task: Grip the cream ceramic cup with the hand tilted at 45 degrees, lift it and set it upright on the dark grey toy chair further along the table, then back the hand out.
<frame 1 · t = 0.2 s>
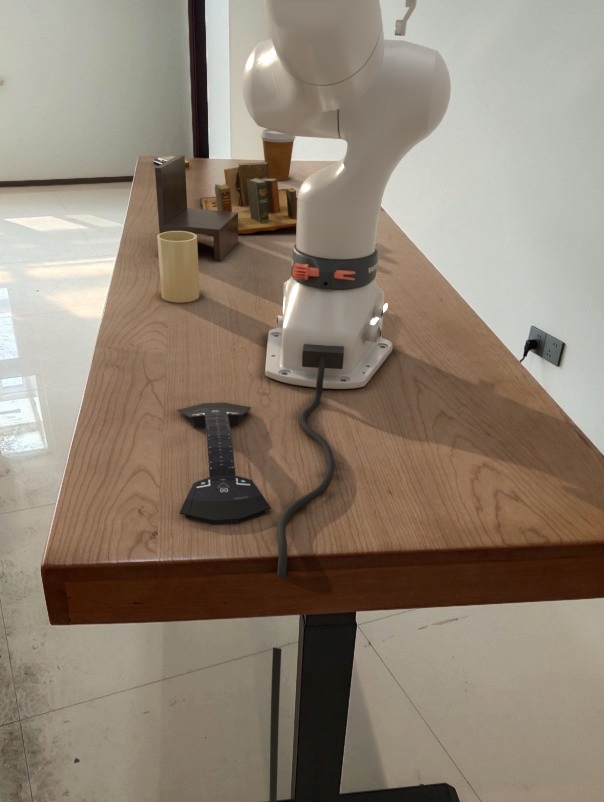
hand: (367, 33, 107), 39 cm above the table, tool pointing down, fingers open, 8 cm apart
cup: (180, 296, 126), on the table
book stand: (253, 218, 171), on the table
dark grey toy chair: (200, 248, 149), on the table
dark piece: (219, 459, 83), on the table
disposable coffee cup: (277, 179, 208), on the table
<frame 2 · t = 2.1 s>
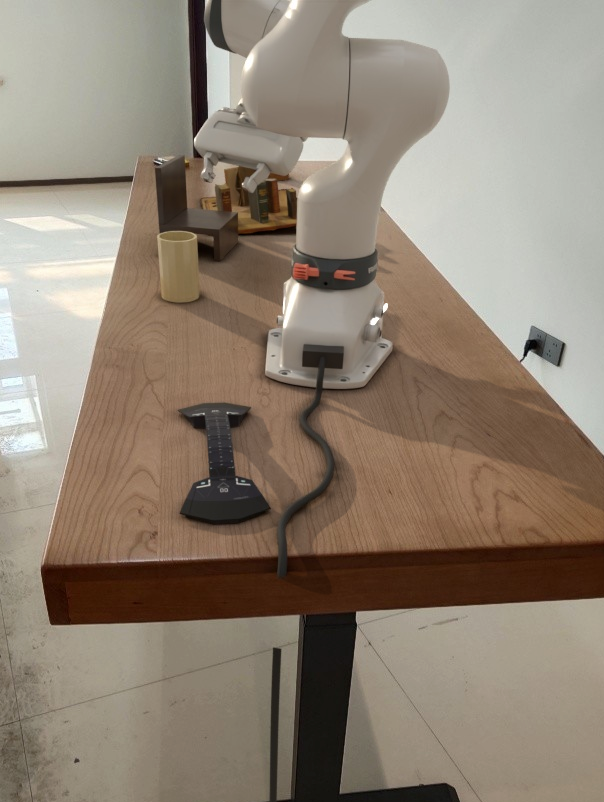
hand: (225, 185, 124), 16 cm above the table, tool tilted 45°, fingers open, 8 cm apart
nothing on the table moved.
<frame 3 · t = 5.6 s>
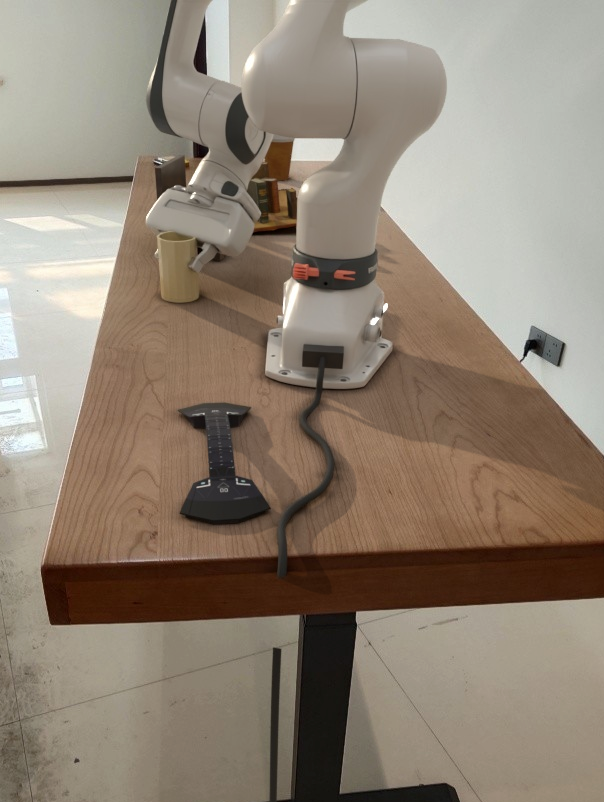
hand: (176, 265, 122), 5 cm above the table, tool tilted 45°, fingers closed on cup, 6 cm apart
cup: (180, 296, 126), on the table, touching gripper
everything else where it was.
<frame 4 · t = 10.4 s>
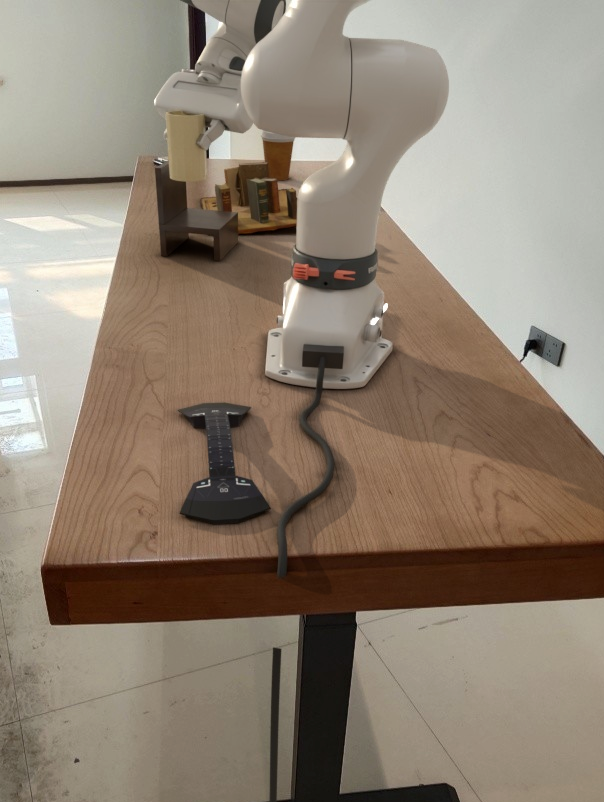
hand: (184, 143, 124), 22 cm above the table, tool tilted 45°, fingers closed on cup, 6 cm apart
cup: (188, 177, 128), point 16 cm above the table, touching gripper
everything else where it was.
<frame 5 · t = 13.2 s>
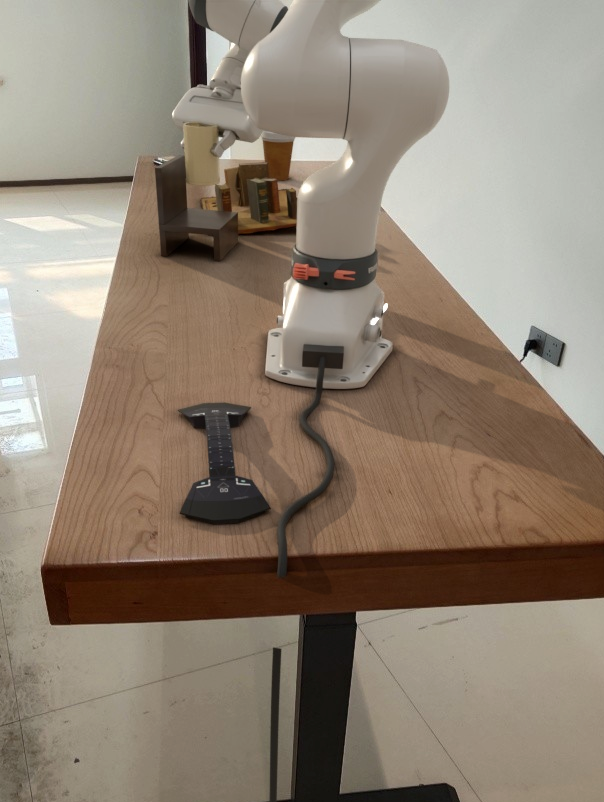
hand: (199, 152, 138), 18 cm above the table, tool tilted 45°, fingers closed on cup, 6 cm apart
cup: (202, 182, 142), point 13 cm above the table, touching gripper
everything else where it was.
when the fingers open (11 cm above the table, at t = 15.6 s): cup stays where it is, resting on dark grey toy chair.
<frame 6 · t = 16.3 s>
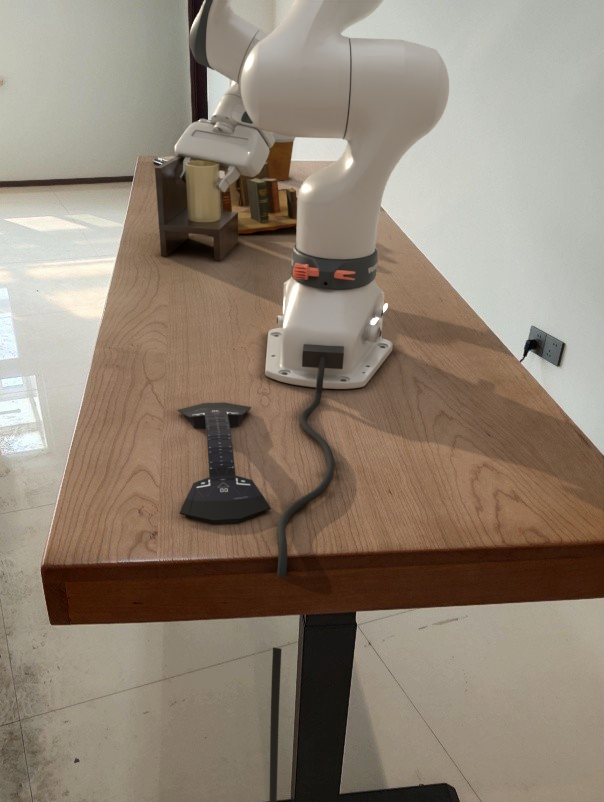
hand: (201, 185, 142), 12 cm above the table, tool tilted 45°, fingers open, 8 cm apart
cup: (204, 218, 145), point 6 cm above the table, touching dark grey toy chair
everything else where it was.
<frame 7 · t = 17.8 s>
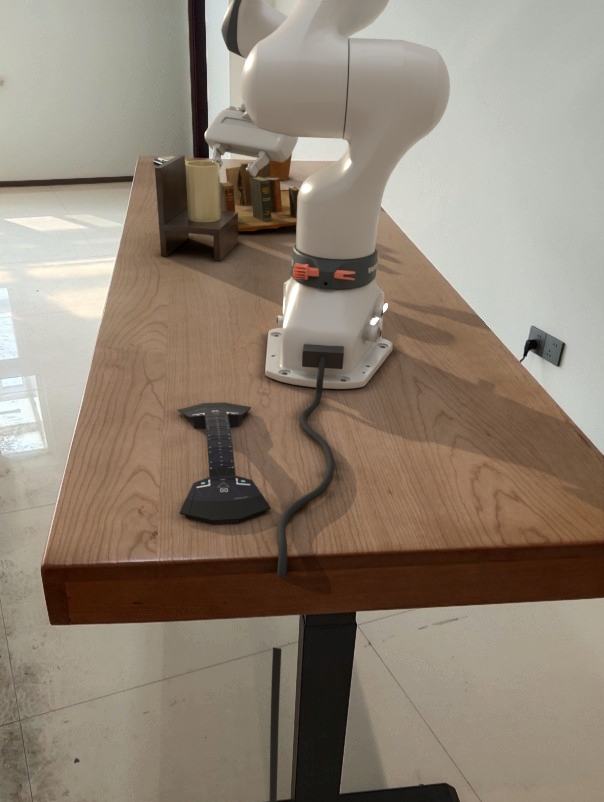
hand: (231, 170, 146), 14 cm above the table, tool tilted 45°, fingers open, 8 cm apart
book stand: (254, 217, 171), on the table, touching gripper
everything else where it was.
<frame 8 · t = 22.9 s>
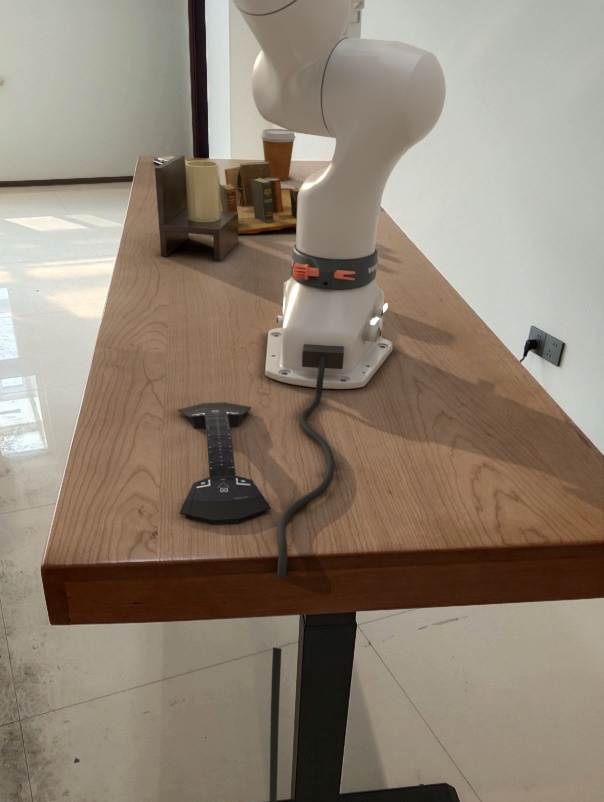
hand: (338, 86, 118), 31 cm above the table, tool pointing down, fingers open, 8 cm apart
book stand: (255, 218, 171), on the table
everything else where it was.
at the end: cup inside the target area on the dark grey toy chair (0.2 cm from its centre), point 6.0 cm above the dark grey toy chair's base; cup tilted 0° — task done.
